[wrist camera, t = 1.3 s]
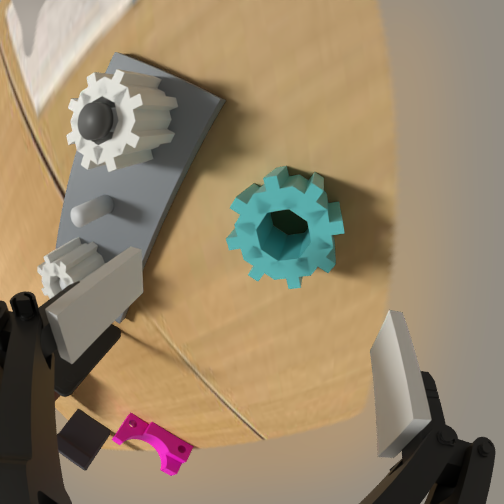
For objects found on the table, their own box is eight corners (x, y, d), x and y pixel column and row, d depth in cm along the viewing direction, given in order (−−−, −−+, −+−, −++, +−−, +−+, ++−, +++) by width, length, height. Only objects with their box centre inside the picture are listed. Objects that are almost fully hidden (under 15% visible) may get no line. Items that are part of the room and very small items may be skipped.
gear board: (123, 53, 24) (68, 43, 17) (225, 100, 25) (184, 91, 17) (59, 264, 39) (21, 290, 31) (125, 318, 39) (90, 354, 32)
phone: (87, 312, 42) (28, 369, 28) (87, 308, 41) (26, 365, 28) (123, 334, 41) (66, 400, 28) (124, 330, 41) (65, 397, 27)
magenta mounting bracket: (193, 445, 52) (181, 472, 45) (182, 451, 55) (170, 475, 48) (133, 408, 51) (117, 433, 45) (127, 416, 54) (111, 439, 47)
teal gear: (276, 146, 26) (263, 151, 20) (359, 203, 26) (368, 223, 20) (228, 225, 30) (206, 247, 24) (304, 275, 30) (298, 307, 25)
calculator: (79, 413, 63) (52, 448, 50) (77, 407, 61) (49, 443, 48) (110, 434, 63) (85, 471, 50) (110, 429, 61) (84, 468, 48)
